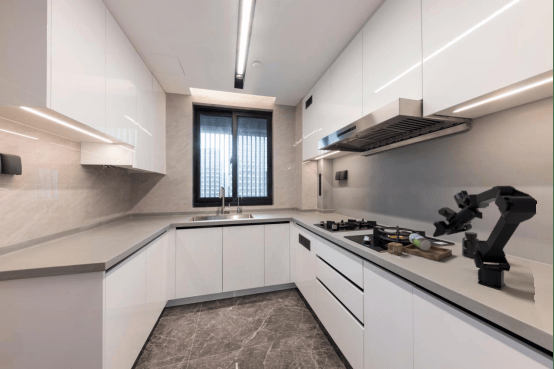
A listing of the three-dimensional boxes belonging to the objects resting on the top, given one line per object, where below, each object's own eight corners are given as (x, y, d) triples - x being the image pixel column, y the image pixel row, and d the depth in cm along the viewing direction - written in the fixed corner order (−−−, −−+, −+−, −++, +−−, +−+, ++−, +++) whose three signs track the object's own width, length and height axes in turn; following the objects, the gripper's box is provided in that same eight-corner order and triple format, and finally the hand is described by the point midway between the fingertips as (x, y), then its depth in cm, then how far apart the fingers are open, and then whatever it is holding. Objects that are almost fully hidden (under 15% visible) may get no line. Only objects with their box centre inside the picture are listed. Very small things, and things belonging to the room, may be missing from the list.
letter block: (402, 253, 125) (402, 244, 125) (397, 255, 123) (396, 246, 122) (393, 251, 130) (393, 242, 129) (387, 253, 127) (387, 243, 127)
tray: (451, 254, 121) (451, 249, 121) (437, 261, 113) (437, 256, 113) (417, 246, 136) (417, 242, 135) (402, 252, 127) (402, 247, 127)
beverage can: (425, 239, 121) (413, 228, 133) (416, 250, 123) (405, 238, 135) (435, 244, 122) (422, 233, 133) (426, 255, 124) (414, 243, 135)
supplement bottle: (460, 256, 119) (460, 232, 118) (464, 253, 123) (464, 230, 122) (477, 259, 113) (477, 235, 113) (481, 256, 117) (481, 232, 117)
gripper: (464, 201, 113) (442, 220, 124) (437, 203, 107) (415, 223, 118) (483, 220, 106) (458, 238, 117) (455, 224, 100) (430, 243, 111)
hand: (440, 235), depth 116 cm, fingers open, 9 cm apart
